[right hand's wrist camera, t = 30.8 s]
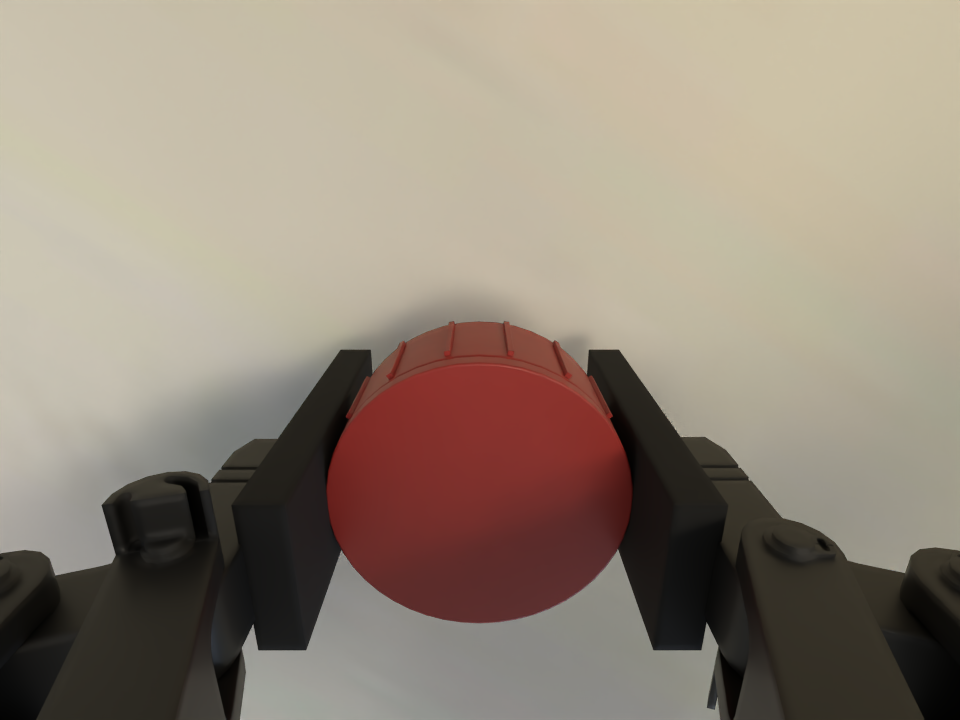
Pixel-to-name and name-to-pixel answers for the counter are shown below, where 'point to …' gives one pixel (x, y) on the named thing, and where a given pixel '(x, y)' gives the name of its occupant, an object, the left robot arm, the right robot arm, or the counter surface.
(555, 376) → the lid
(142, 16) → the counter surface
